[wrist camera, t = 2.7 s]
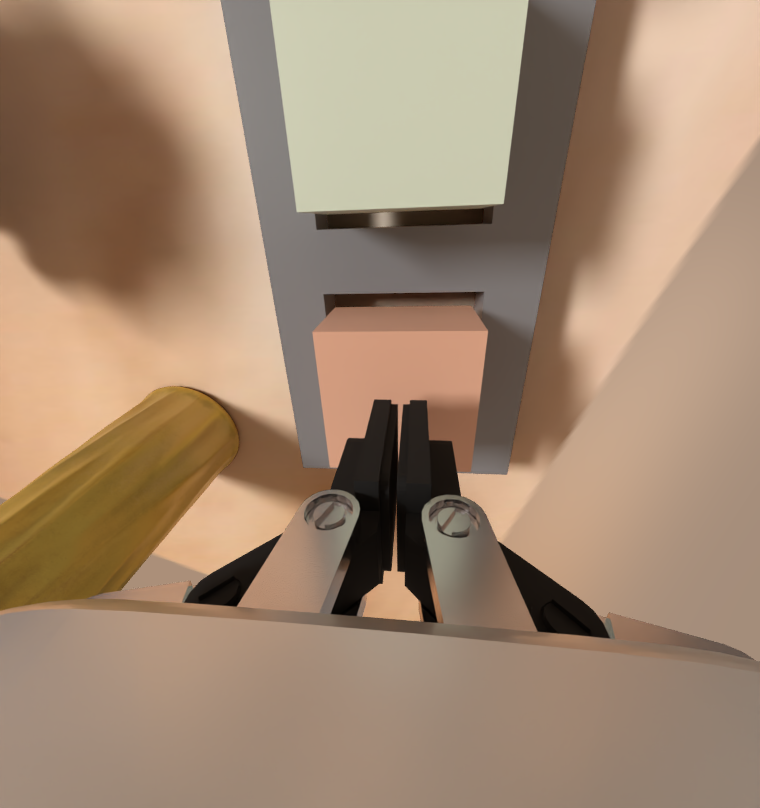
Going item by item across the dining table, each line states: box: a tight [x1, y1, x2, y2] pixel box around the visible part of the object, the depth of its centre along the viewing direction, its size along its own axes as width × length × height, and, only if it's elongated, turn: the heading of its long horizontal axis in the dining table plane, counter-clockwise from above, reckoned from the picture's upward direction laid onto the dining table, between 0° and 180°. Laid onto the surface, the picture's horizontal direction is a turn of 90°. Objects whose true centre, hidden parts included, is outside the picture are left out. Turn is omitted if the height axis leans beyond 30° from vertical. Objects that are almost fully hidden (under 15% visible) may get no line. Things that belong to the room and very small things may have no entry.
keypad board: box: [221, 0, 596, 475], centre depth 12 cm, size 30×11×2 cm, turn 2°
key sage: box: [269, 0, 529, 215], centre depth 9 cm, size 6×6×4 cm
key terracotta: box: [312, 306, 488, 472], centre depth 14 cm, size 6×6×4 cm
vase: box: [0, 386, 239, 611], centre depth 15 cm, size 6×6×14 cm
